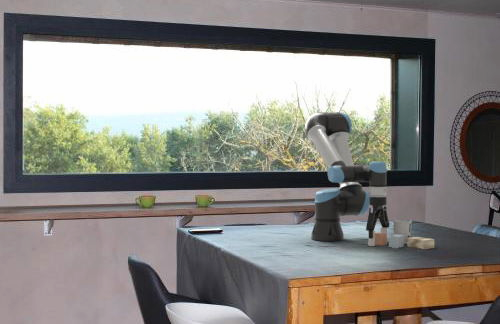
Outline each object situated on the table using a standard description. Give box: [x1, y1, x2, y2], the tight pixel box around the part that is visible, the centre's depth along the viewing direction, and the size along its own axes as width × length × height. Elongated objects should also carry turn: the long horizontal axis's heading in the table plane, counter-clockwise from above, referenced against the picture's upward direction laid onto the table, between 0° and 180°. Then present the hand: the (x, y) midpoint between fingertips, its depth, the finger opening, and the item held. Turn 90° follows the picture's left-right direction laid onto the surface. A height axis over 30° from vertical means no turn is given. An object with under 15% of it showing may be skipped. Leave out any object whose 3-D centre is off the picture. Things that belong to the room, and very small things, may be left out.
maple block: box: [406, 236, 435, 250], centre depth 291 cm, size 10×6×4 cm, turn 33°
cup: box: [392, 219, 412, 245], centre depth 303 cm, size 8×8×10 cm
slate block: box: [388, 234, 405, 249], centre depth 292 cm, size 7×4×5 cm, turn 146°
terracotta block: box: [375, 231, 388, 246], centre depth 300 cm, size 7×4×5 cm, turn 56°
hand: (377, 244), depth 299 cm, fingers open, 13 cm apart
